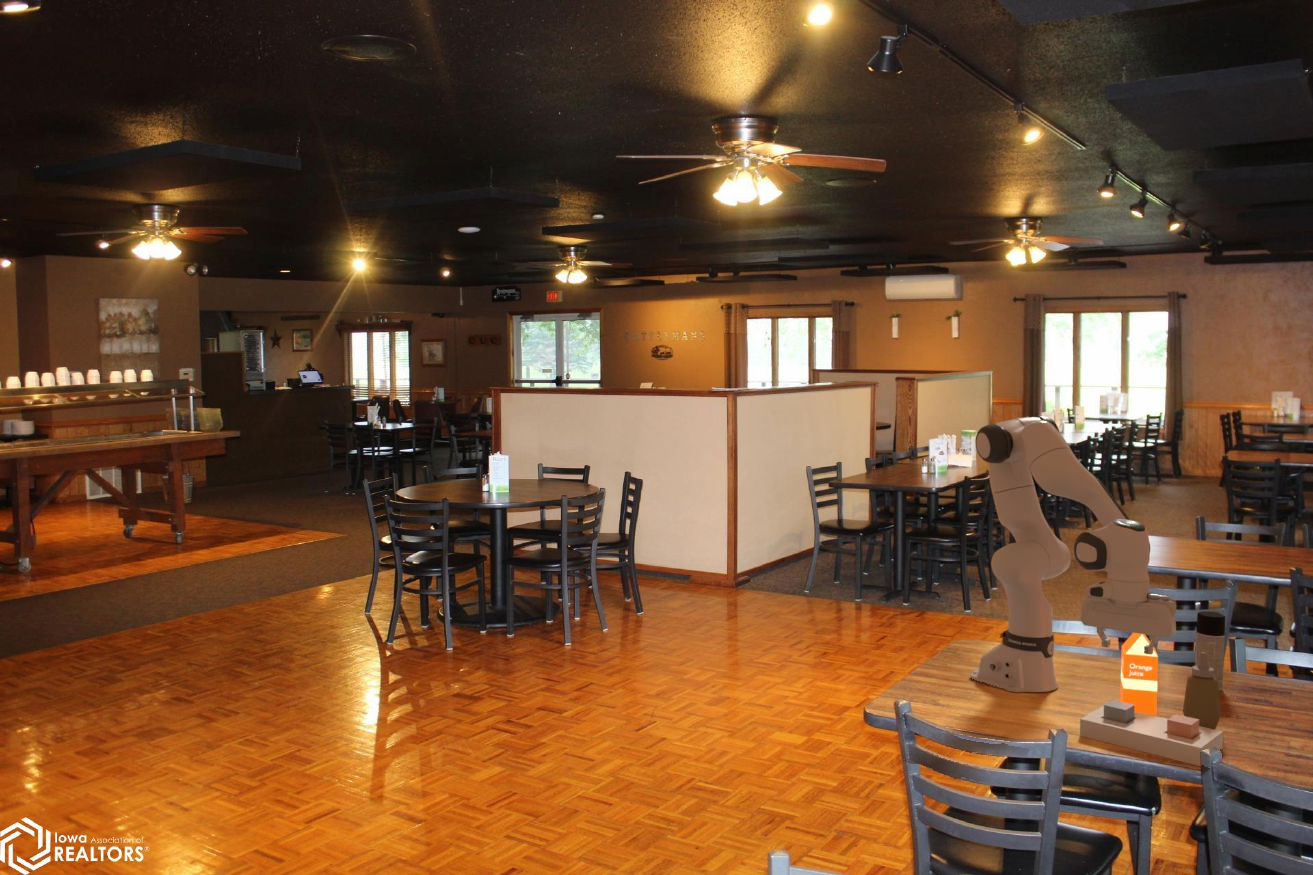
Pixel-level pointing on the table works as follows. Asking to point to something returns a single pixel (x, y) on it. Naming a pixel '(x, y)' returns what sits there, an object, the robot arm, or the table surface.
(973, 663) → the table surface
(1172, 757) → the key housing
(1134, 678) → the orange juice
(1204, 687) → the squeeze bottle
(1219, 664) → the spray can
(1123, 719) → the slate key
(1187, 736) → the terracotta key
